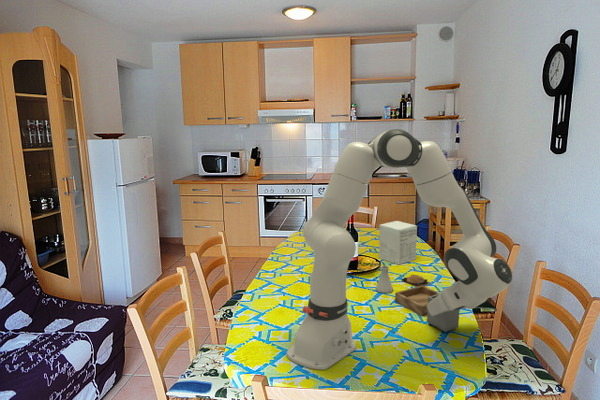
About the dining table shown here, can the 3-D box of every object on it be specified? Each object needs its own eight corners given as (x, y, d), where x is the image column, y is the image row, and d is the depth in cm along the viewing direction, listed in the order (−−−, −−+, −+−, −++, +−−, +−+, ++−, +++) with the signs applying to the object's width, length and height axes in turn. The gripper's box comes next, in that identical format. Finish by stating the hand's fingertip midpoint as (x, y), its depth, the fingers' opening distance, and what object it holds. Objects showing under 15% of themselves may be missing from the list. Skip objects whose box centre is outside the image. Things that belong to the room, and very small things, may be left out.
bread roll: (432, 284, 171) (432, 276, 170) (420, 289, 165) (421, 281, 165) (411, 277, 179) (411, 269, 178) (399, 282, 174) (399, 274, 173)
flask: (393, 294, 160) (394, 270, 159) (375, 293, 162) (375, 269, 160) (393, 287, 167) (393, 264, 166) (375, 286, 169) (375, 263, 167)
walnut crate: (450, 307, 148) (450, 298, 148) (422, 316, 142) (422, 307, 141) (422, 293, 161) (422, 285, 160) (395, 301, 154) (395, 292, 153)
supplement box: (416, 259, 200) (417, 225, 196) (398, 265, 192) (399, 229, 189) (396, 252, 210) (397, 220, 207) (378, 257, 203) (378, 224, 200)
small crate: (458, 327, 132) (459, 302, 131) (445, 332, 130) (446, 306, 128) (439, 317, 139) (440, 293, 138) (426, 321, 137) (428, 296, 135)
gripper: (484, 277, 130) (458, 294, 140) (439, 290, 121) (414, 308, 131) (496, 295, 127) (468, 311, 137) (450, 310, 118) (423, 326, 128)
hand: (441, 310), depth 134 cm, fingers closed on small crate, 6 cm apart
